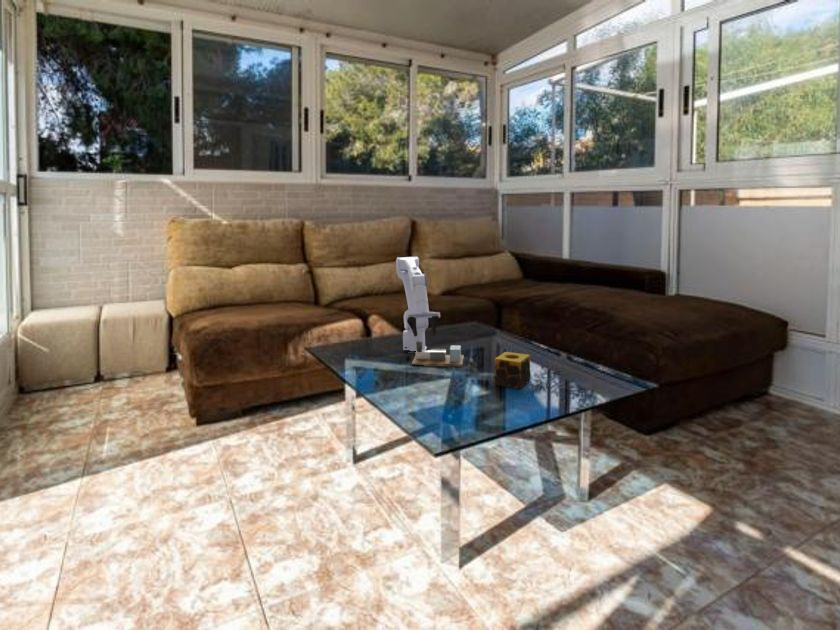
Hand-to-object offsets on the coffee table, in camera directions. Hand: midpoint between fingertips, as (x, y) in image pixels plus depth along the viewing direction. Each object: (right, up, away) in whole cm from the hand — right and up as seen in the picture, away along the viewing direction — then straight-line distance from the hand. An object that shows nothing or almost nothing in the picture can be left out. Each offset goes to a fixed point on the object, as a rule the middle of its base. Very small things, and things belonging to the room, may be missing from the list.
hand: (424, 335), depth 224 cm
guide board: (+6, -11, +3) cm, 12 cm away
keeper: (+12, -11, +2) cm, 17 cm away
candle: (+31, -16, -24) cm, 42 cm away
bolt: (+3, -9, +4) cm, 10 cm away
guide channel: (+6, -11, +3) cm, 12 cm away
